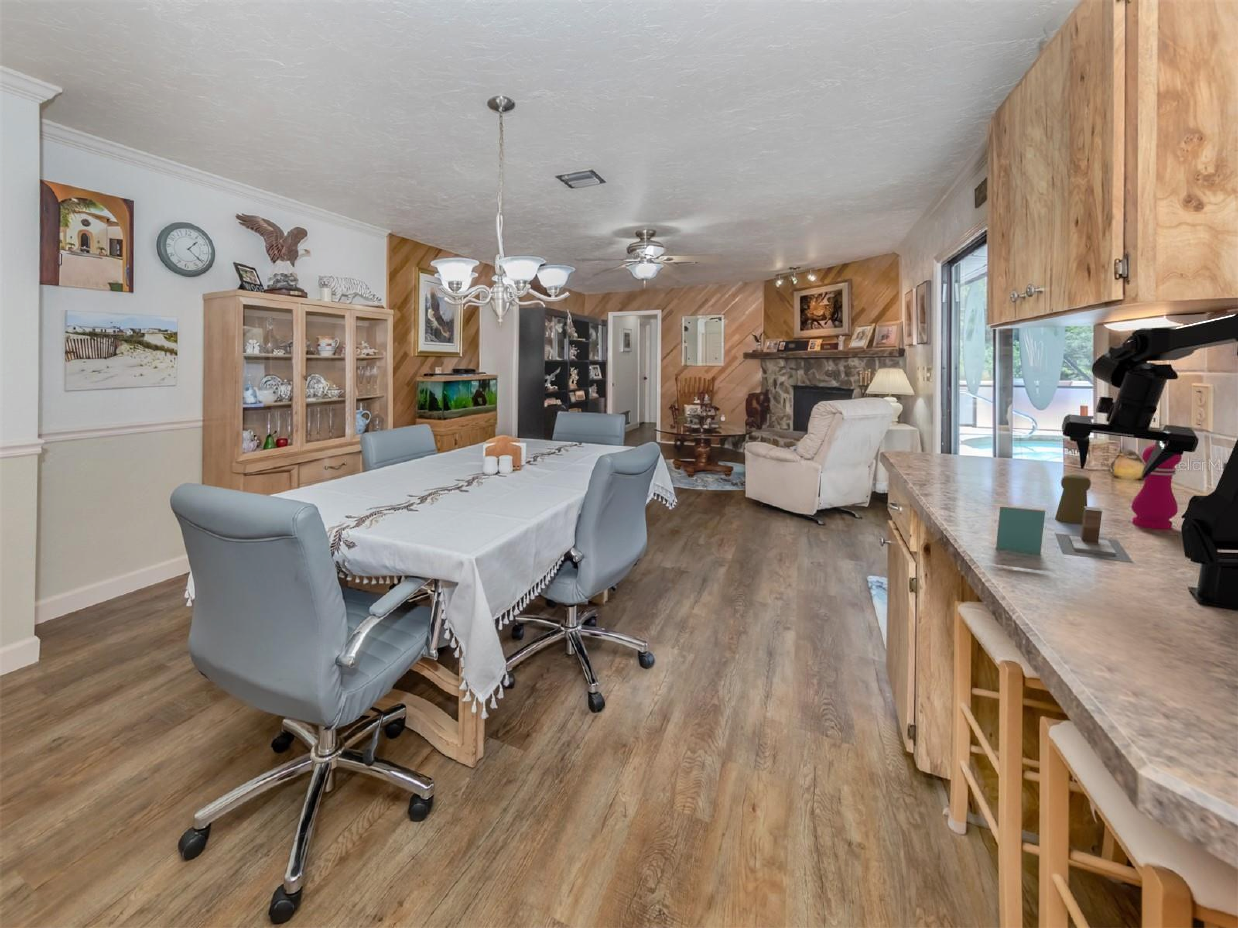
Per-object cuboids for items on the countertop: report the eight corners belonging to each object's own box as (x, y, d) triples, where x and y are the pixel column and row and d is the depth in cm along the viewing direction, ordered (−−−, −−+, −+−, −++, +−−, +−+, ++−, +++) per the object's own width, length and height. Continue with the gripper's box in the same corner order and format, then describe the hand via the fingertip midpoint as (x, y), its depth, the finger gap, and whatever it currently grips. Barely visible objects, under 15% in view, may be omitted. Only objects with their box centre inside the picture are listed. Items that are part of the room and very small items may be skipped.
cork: (1048, 521, 127) (1053, 474, 125) (1063, 517, 130) (1068, 471, 128) (1079, 527, 122) (1084, 479, 120) (1094, 523, 124) (1100, 476, 122)
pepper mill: (1159, 533, 116) (1173, 440, 113) (1120, 524, 123) (1132, 436, 120) (1183, 530, 118) (1197, 438, 115) (1143, 521, 125) (1156, 434, 122)
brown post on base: (1115, 556, 103) (1120, 519, 101) (1074, 550, 106) (1078, 515, 105) (1107, 542, 110) (1111, 508, 109) (1068, 538, 113) (1072, 505, 112)
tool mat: (1133, 565, 99) (1133, 562, 99) (1062, 556, 105) (1062, 553, 105) (1117, 542, 112) (1117, 540, 111) (1054, 535, 117) (1054, 533, 117)
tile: (1040, 556, 105) (1045, 511, 103) (995, 551, 109) (1000, 506, 107) (1039, 554, 106) (1044, 509, 104) (995, 549, 110) (1000, 505, 108)
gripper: (1199, 389, 102) (1168, 464, 108) (1071, 378, 111) (1051, 448, 118) (1213, 408, 94) (1179, 489, 100) (1075, 395, 103) (1052, 469, 110)
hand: (1111, 472), depth 107 cm, fingers open, 9 cm apart
